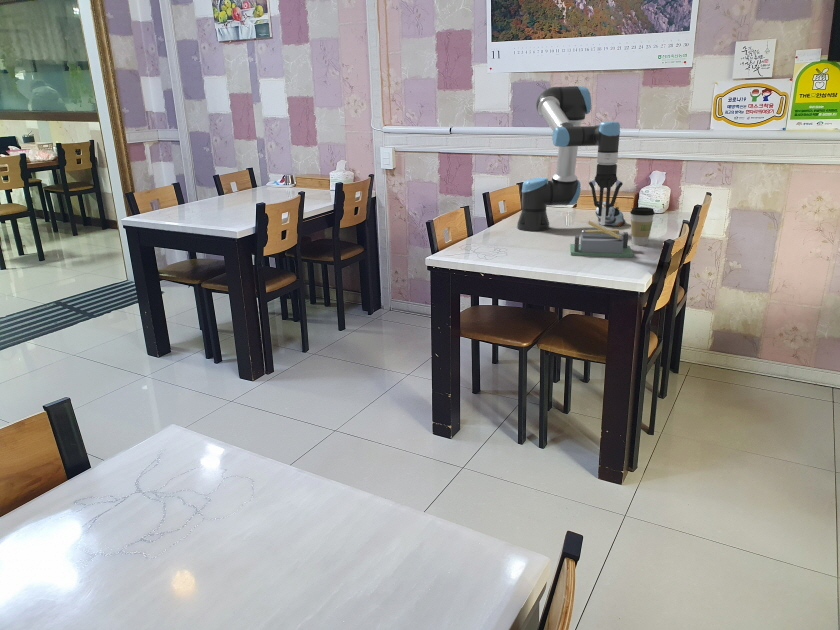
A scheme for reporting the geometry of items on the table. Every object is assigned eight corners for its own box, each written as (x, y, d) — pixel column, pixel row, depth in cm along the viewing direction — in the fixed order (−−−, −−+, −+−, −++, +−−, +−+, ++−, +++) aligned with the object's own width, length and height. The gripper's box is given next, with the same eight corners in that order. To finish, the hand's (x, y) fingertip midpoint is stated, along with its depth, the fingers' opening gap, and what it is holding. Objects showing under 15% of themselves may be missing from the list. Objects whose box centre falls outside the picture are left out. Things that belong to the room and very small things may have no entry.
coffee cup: (653, 246, 274) (656, 211, 269) (628, 246, 276) (631, 210, 271) (650, 241, 283) (653, 207, 278) (626, 241, 285) (629, 206, 280)
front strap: (621, 239, 262) (623, 235, 261) (621, 241, 258) (623, 237, 258) (587, 223, 262) (589, 219, 262) (587, 225, 259) (589, 221, 258)
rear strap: (581, 235, 269) (581, 231, 269) (581, 233, 273) (581, 229, 272) (619, 233, 266) (619, 230, 266) (618, 231, 270) (618, 228, 269)
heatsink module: (570, 255, 263) (571, 238, 261) (570, 246, 277) (571, 230, 274) (632, 257, 258) (634, 239, 256) (629, 248, 272) (630, 231, 270)
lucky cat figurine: (629, 226, 313) (622, 202, 305) (604, 236, 315) (597, 213, 307) (619, 212, 325) (612, 189, 317) (596, 221, 327) (588, 198, 320)
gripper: (590, 164, 249) (585, 225, 257) (625, 164, 247) (620, 226, 255) (589, 162, 256) (585, 222, 264) (623, 162, 254) (618, 222, 261)
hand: (602, 224), depth 259 cm, fingers closed
